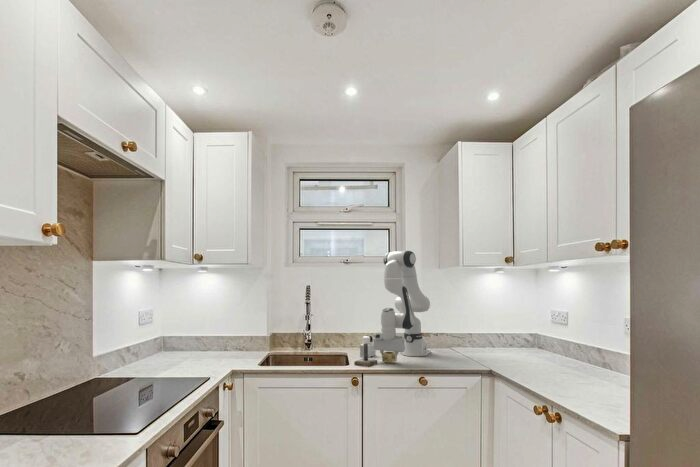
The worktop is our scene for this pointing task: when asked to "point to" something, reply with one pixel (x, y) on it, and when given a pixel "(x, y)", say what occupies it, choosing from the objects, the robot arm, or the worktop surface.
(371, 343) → the container
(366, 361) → the post board
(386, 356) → the collar
